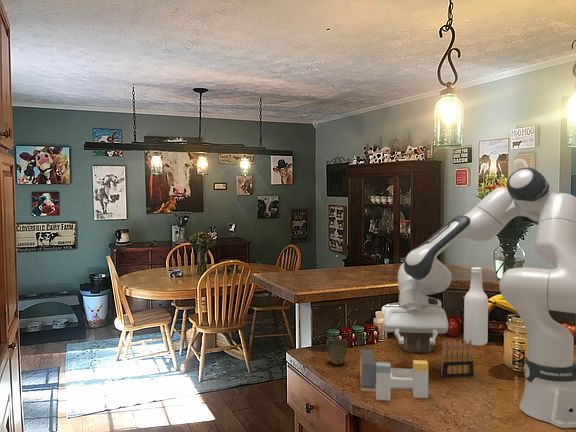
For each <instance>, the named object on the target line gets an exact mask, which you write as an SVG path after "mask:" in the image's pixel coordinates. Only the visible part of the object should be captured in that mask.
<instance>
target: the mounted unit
mask: <svg viewBox="0 0 576 432" xmlns="http://www.w3.org/2000/svg"><path fill="white" fill-rule="evenodd" d="M359 359H360V360H359V368H360V369H359V381H360V383H359V385H360V392H366V393H367V392H369V393H370V392H371V393H376V359H375V354H374V349H360V358H359Z"/></svg>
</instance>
